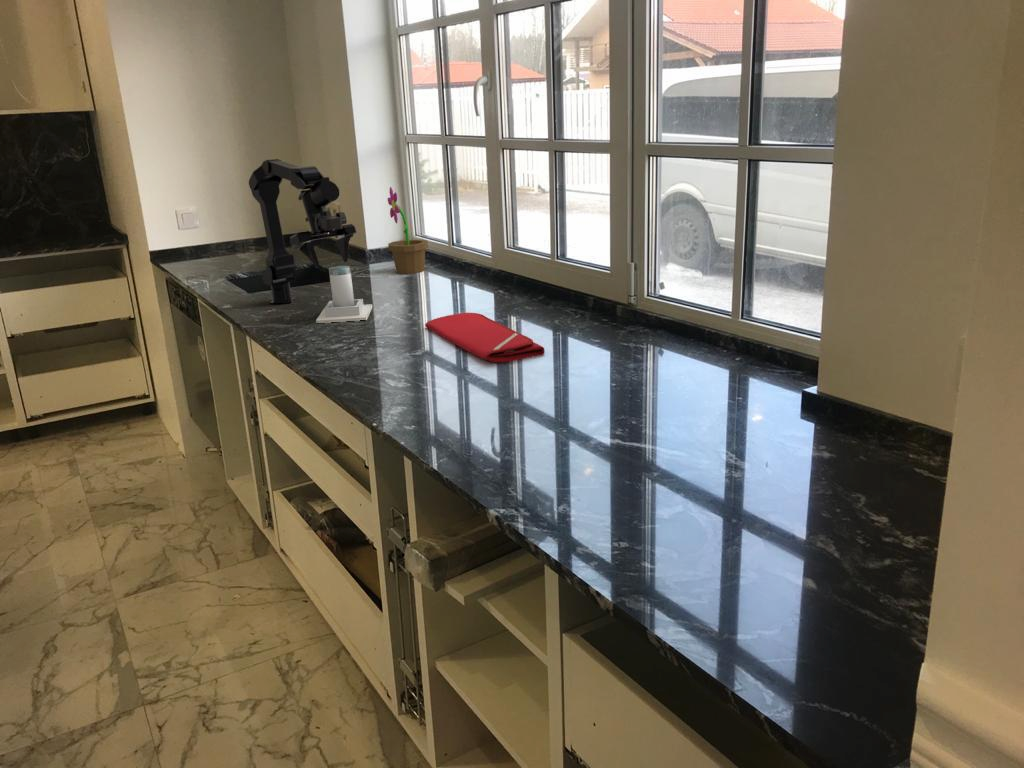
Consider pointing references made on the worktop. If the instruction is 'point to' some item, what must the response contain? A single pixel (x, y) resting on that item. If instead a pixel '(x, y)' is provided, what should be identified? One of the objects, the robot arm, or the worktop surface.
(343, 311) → the white square stand
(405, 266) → the flowerpot
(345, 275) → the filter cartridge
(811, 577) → the worktop surface
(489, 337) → the folded red towel
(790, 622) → the worktop surface
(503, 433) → the worktop surface
